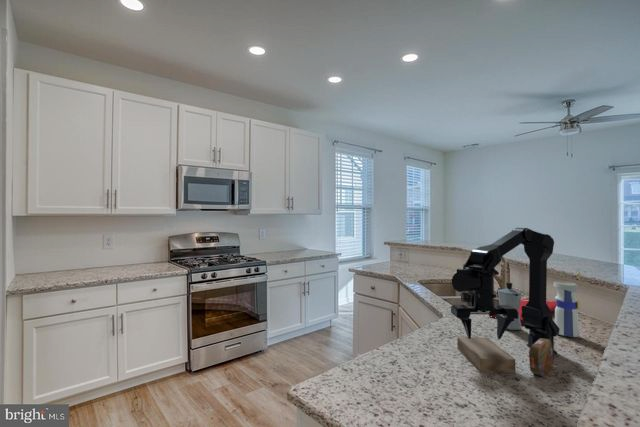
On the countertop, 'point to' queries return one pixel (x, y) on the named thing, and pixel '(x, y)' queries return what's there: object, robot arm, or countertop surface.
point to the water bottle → (567, 308)
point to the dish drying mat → (523, 302)
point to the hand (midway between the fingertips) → (483, 338)
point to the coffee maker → (510, 303)
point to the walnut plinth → (486, 355)
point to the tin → (541, 356)
